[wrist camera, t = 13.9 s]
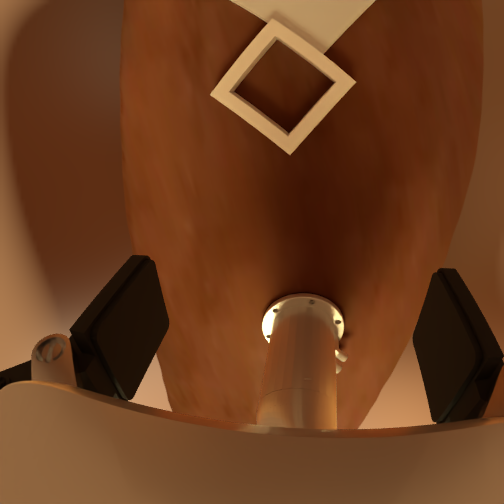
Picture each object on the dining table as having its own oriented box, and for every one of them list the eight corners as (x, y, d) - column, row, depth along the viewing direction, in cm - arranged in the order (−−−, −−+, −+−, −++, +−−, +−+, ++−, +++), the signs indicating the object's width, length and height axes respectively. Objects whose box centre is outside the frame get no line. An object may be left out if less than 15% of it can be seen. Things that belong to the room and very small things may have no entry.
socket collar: (352, 82, 30) (356, 81, 27) (291, 150, 35) (289, 155, 33) (274, 22, 27) (272, 18, 25) (216, 94, 33) (209, 94, 31)
